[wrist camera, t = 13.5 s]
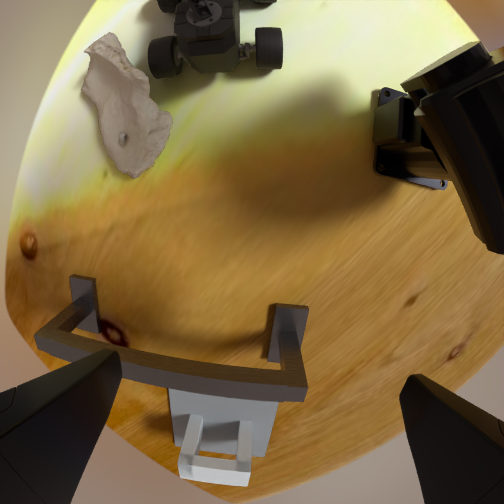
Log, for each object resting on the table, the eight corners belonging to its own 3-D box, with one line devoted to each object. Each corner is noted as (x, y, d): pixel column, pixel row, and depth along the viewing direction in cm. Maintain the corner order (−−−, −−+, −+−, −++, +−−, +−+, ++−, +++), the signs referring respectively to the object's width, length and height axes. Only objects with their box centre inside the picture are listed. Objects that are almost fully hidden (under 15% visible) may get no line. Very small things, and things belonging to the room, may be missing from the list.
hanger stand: (307, 306, 21) (326, 362, 14) (296, 359, 22) (306, 421, 16) (73, 274, 21) (22, 308, 14) (80, 325, 22) (39, 366, 16)
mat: (279, 396, 24) (279, 399, 23) (264, 454, 26) (264, 456, 26) (169, 383, 24) (168, 386, 23) (175, 443, 26) (175, 445, 26)
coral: (135, 188, 19) (104, 193, 15) (79, 87, 17) (46, 75, 13) (198, 142, 18) (181, 135, 14) (133, 42, 16) (108, 19, 12)
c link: (249, 438, 25) (247, 486, 19) (191, 431, 25) (180, 477, 19) (252, 421, 24) (250, 472, 18) (190, 413, 24) (177, 462, 18)
